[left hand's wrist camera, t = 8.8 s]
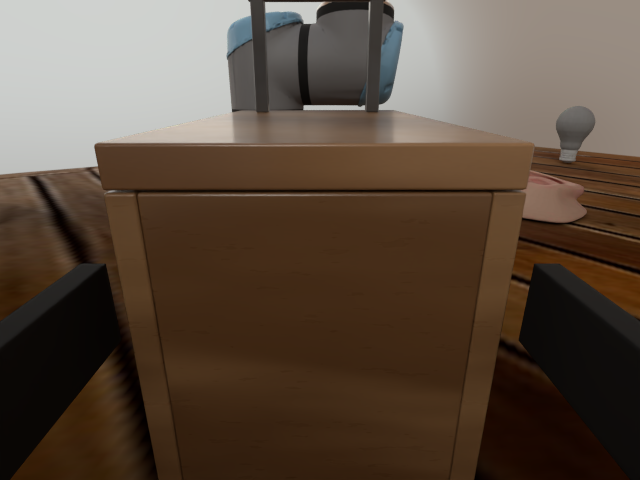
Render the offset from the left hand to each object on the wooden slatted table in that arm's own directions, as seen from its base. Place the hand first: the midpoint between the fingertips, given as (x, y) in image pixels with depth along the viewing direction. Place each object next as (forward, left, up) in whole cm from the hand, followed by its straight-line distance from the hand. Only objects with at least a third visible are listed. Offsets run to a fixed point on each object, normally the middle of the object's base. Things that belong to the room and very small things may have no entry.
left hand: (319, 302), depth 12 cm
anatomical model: (-11, +40, -6) cm, 42 cm away
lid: (-5, +4, +4) cm, 8 cm away
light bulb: (-21, +76, -6) cm, 79 cm away
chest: (-5, +4, -6) cm, 9 cm away
